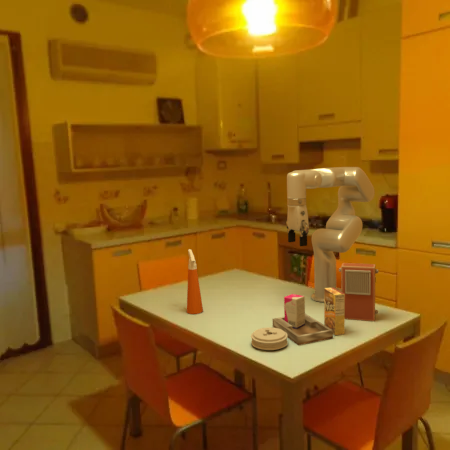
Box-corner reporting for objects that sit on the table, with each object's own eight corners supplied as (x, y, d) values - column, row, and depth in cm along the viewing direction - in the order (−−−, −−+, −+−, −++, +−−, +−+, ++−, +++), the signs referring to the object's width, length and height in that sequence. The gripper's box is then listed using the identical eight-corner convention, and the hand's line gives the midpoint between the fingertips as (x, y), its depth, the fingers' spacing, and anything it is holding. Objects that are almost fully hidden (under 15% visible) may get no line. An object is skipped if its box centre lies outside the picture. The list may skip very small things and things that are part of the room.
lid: (268, 335, 175) (267, 322, 174) (295, 344, 165) (294, 330, 165) (243, 345, 166) (243, 332, 165) (271, 356, 157) (270, 341, 156)
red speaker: (339, 313, 193) (378, 316, 188) (337, 319, 187) (377, 322, 182) (339, 262, 190) (378, 263, 185) (337, 266, 183) (378, 268, 178)
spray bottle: (199, 305, 211) (196, 247, 207) (204, 313, 200) (201, 252, 196) (184, 307, 209) (180, 248, 205) (188, 315, 199) (184, 253, 195)
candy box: (323, 327, 179) (323, 288, 177) (334, 325, 180) (333, 286, 178) (334, 335, 171) (334, 294, 168) (345, 334, 172) (345, 293, 169)
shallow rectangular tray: (304, 320, 187) (304, 313, 187) (333, 338, 169) (332, 330, 168) (272, 326, 182) (272, 318, 182) (298, 345, 164) (297, 337, 163)
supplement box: (305, 324, 180) (305, 295, 178) (296, 329, 176) (296, 299, 174) (293, 321, 184) (292, 293, 182) (284, 325, 180) (283, 296, 178)
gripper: (315, 203, 186) (316, 246, 188) (294, 200, 202) (295, 239, 204) (299, 205, 183) (299, 248, 186) (278, 201, 199) (279, 241, 202)
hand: (297, 243), depth 195 cm, fingers open, 9 cm apart
